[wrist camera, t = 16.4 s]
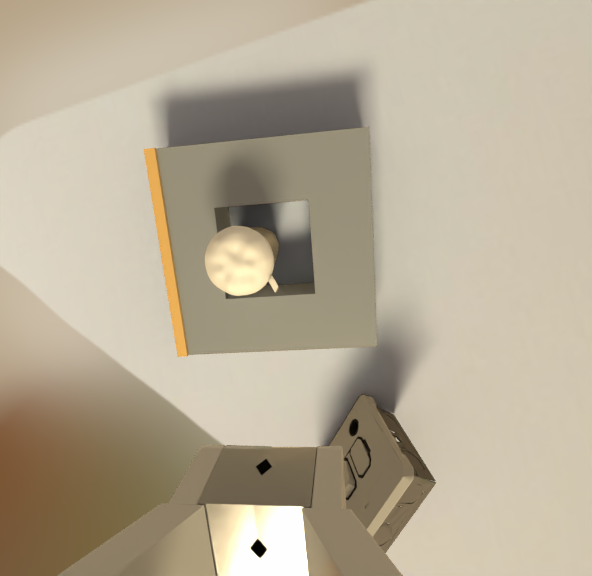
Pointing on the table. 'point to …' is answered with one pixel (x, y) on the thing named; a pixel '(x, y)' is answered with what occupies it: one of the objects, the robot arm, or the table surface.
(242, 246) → the milkshake
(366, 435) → the electrical switch
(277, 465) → the robot arm
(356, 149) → the socket block
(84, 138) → the table surface
